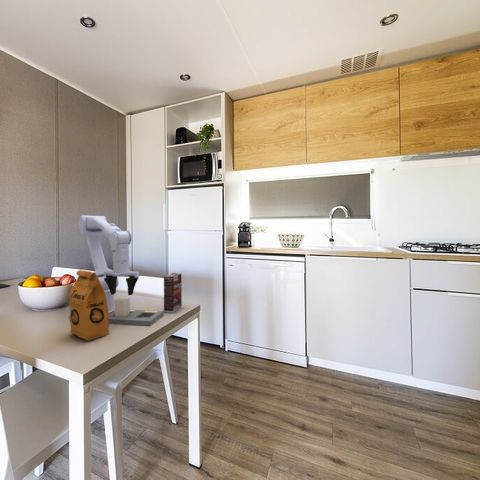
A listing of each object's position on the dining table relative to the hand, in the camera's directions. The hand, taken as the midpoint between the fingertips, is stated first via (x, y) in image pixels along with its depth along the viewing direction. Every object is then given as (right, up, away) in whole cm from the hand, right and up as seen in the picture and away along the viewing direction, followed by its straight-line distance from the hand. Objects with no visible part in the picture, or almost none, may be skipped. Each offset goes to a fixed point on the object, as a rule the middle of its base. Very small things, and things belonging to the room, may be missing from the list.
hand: (122, 294), depth 97 cm
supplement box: (+18, -10, +11) cm, 23 cm away
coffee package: (-4, -11, -14) cm, 18 cm away
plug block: (0, -10, +1) cm, 10 cm away
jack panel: (+5, -10, 0) cm, 11 cm away
